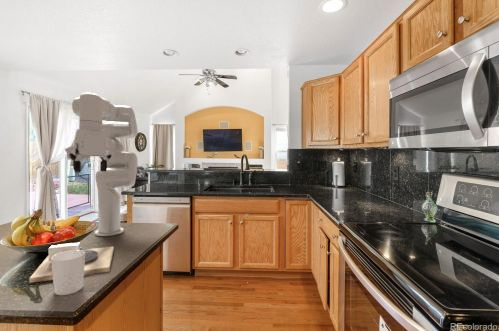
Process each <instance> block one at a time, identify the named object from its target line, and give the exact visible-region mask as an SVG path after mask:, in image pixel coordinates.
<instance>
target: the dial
mask: <svg viewBox="0 0 499 331" xmlns="http://www.w3.org/2000/svg"><path fill="white" fill-rule="evenodd" d="M70 250H82V251H84V252H85V263H88V262H91V261H93V260H95V259H96V258H97V257H98V253H97V252H96V251H94V250H85V249H81V242H79V241H78V242H70V243H61V244H60V243H59V244H58V243H57V245H51V246H50V247H49V248H48V252H47V253H48V255H49V261H51V258H52V256H54V255H55V254H58V253H61V252H65V251H70Z"/></svg>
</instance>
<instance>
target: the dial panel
mask: <svg viewBox="0 0 499 331" xmlns="http://www.w3.org/2000/svg"><path fill="white" fill-rule="evenodd" d="M114 248H115V247H114V246H105V247H96V248H88V249H84V250H94V251H96V252H97V253H98V257H97V258H96V259H95V260H93V261H91V262H88V263H85V267H84V276H87V275H94V274H95V273H96V274H101V273H102V274H103V273H108V272H110V271H111V267H112V266H111V265H112V261H113V255H114ZM96 274H95V275H96ZM28 281H29V284H33V283H38V282H46V281H53V274H52V261H49V254H48V255H47V256H46V258H45V259H44V260H43V261H42V263H41V264H39V266H38V267H37V269H36V270H35V271H34V272H33V274H32V275H31V276H29V280H28Z"/></svg>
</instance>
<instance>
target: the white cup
mask: <svg viewBox="0 0 499 331" xmlns="http://www.w3.org/2000/svg"><path fill="white" fill-rule="evenodd" d="M82 250H83V249H80V250H70V251H65V252H61V253H58V254H55V255H54V256H52V258H51V261H52V274H53V280H52V281H53V282H52V283H53V286H54V289H53V290H54V294H55V295H57V296H66V295H72V294H74V293H77V292H78V291H81V290H82V288H83V287H84V277H85V275H84V267H85V252H84V251H82Z"/></svg>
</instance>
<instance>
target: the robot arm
mask: <svg viewBox="0 0 499 331" xmlns="http://www.w3.org/2000/svg"><path fill="white" fill-rule="evenodd" d="M71 109H72V111H73V113H74V115H75V116H76V117H78V118H79V124H78V125H79V129H76V132H75V136H74V141H73V142H74V144H73V145H71V146H68V147H66V148H64V151H65V153H66V154H67V157H69V158H70V159H71V161H72V163H73V164H72V166H73V171H74V173H80V172H81V168H82V167H81V164H82V162H81V161H80V160H81V159H82V157H98V158H99V159H100V160H101V161H100V163H99V165H100V168H99V169H98V170H97V171H96V173H95V183H96V187H97V215H98V216H97V218H98V219H97V221H98V222H97V225H98V227H97V229H96V230H95V231H94V236H97V237H109V236H110V237H111V236H115V235H116V236H117V235H120V234H122V233H124V231H125V229H124V227H121V196H120V193H119V192H118V191H117V189H116V188H131V187H134V186H135V184H136V180H137V171H138V161H139V160H138V157H137V155H136V153H134V152H132V151H125V147H124V145H123V143H122V142H121V141H119V139H134V138H136V137H137V136H138V132H139V131H138V124H137V119H136V114H135V112H134V109H133V108H132V107H131V106H129V105H115V104H112V102H111V101H110V100H109V99H106V98H103V97H102V96H100V95H99V94H96V93H91V92H85V93H84V92H83V93H81V94H79V97H75V98H74V99H73V100H72V104H71ZM103 121H105V122H104V124H103ZM72 151H73V152H72Z"/></svg>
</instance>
